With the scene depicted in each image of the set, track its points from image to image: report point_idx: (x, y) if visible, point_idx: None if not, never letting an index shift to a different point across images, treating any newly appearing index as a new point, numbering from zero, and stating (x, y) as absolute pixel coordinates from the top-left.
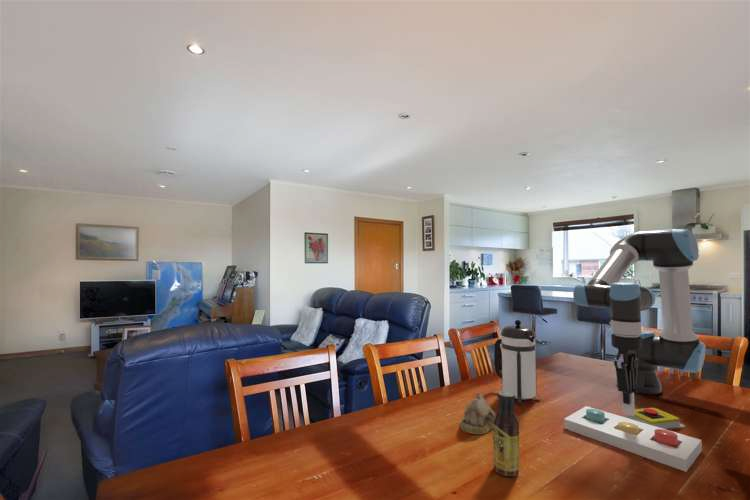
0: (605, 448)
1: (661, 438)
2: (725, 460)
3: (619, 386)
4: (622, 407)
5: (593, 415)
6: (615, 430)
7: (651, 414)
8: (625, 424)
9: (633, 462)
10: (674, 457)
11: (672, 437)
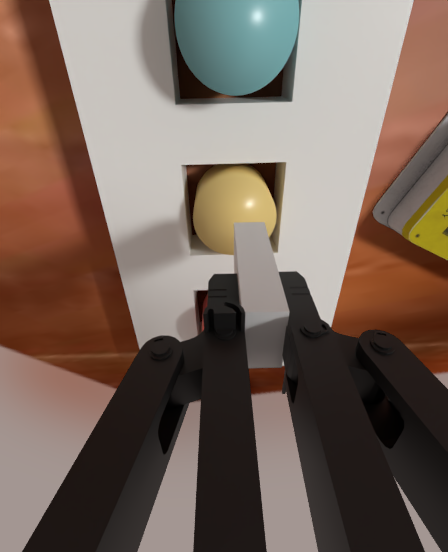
0: (62, 169)
1: (202, 327)
2: None
3: (122, 392)
4: (235, 239)
5: (177, 39)
6: (163, 183)
7: None
8: (237, 207)
9: (65, 264)
10: None
11: None
